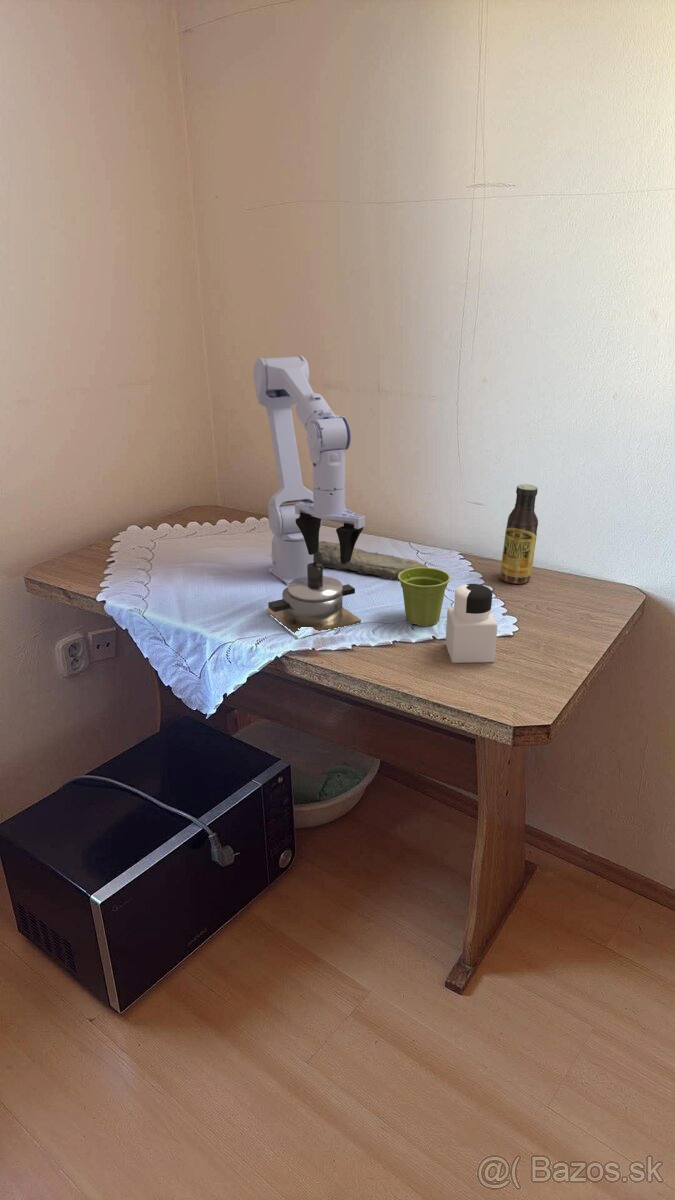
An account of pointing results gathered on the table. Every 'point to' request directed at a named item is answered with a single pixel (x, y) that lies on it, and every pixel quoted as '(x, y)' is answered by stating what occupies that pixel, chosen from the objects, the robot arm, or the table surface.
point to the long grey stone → (363, 561)
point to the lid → (315, 586)
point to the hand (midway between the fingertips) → (329, 557)
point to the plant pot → (423, 594)
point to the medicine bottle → (471, 625)
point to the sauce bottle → (520, 537)
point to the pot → (312, 612)
